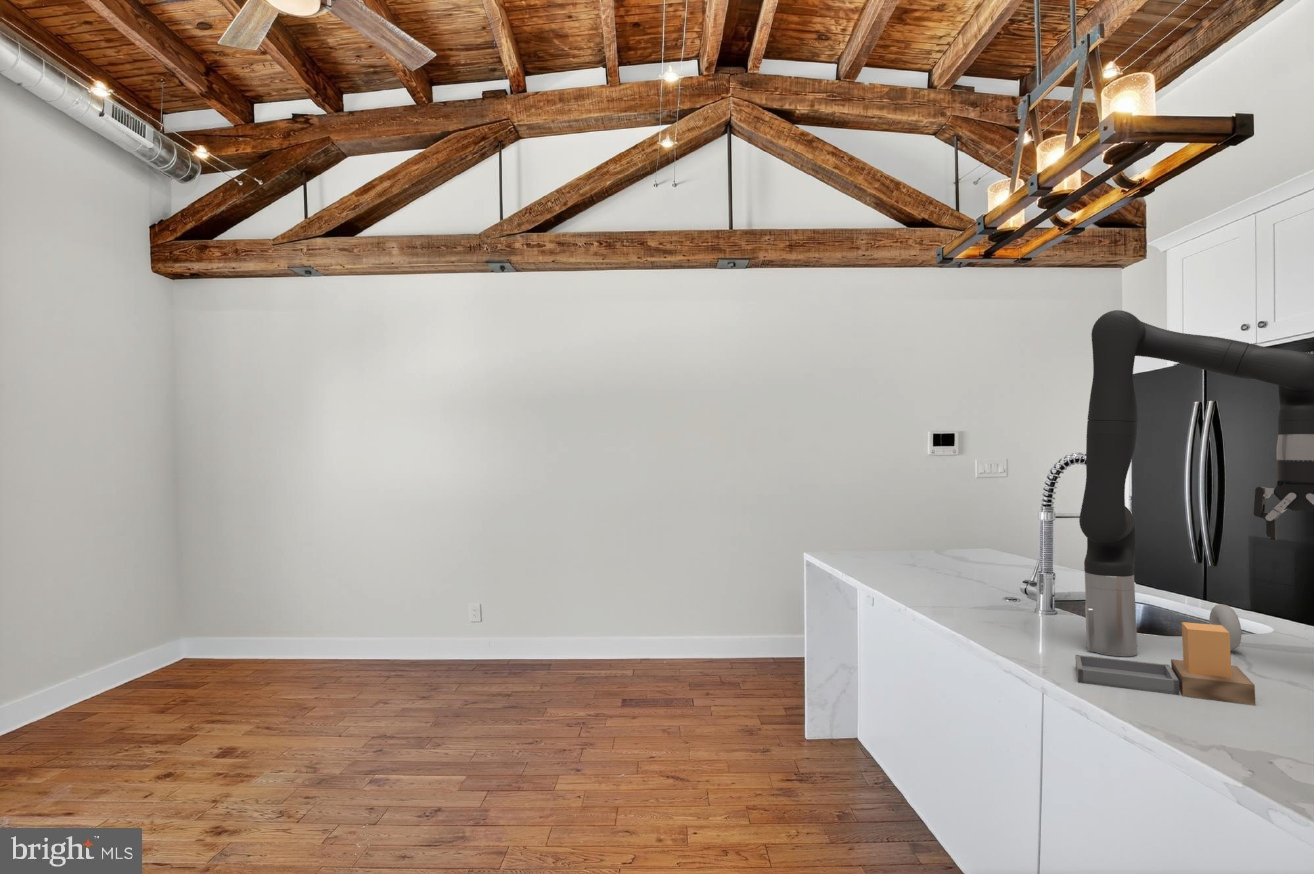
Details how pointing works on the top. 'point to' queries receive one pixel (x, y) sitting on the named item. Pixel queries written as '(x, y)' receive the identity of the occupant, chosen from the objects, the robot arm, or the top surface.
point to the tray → (1127, 674)
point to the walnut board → (1215, 685)
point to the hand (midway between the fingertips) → (1303, 542)
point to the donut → (1227, 623)
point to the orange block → (1206, 649)
